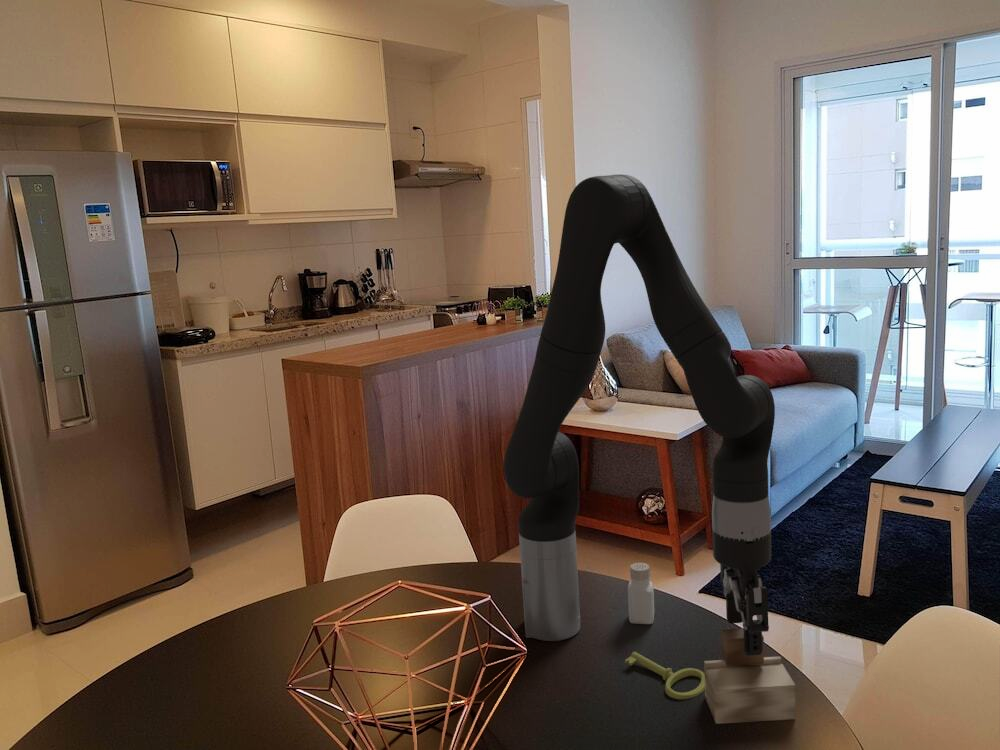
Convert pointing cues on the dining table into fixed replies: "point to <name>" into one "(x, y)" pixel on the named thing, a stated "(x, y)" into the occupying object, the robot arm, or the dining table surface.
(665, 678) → the key
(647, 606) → the salt shaker
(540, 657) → the dining table surface
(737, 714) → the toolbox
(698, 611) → the dining table surface
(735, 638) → the stacked wooden blocks
